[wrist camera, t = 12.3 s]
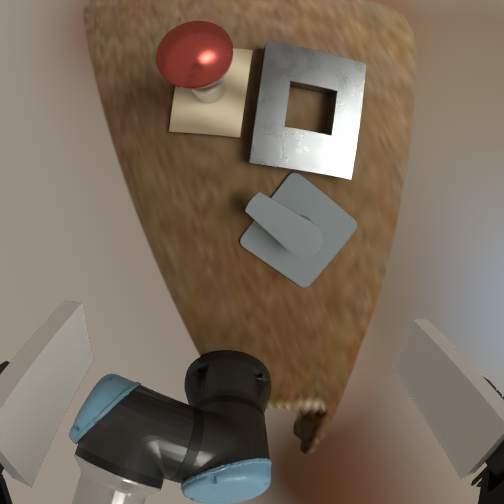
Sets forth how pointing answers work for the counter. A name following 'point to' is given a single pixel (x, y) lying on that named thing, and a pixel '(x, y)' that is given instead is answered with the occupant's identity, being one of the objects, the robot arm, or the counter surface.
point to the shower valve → (296, 229)
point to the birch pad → (214, 104)
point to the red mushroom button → (196, 59)
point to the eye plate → (301, 141)
